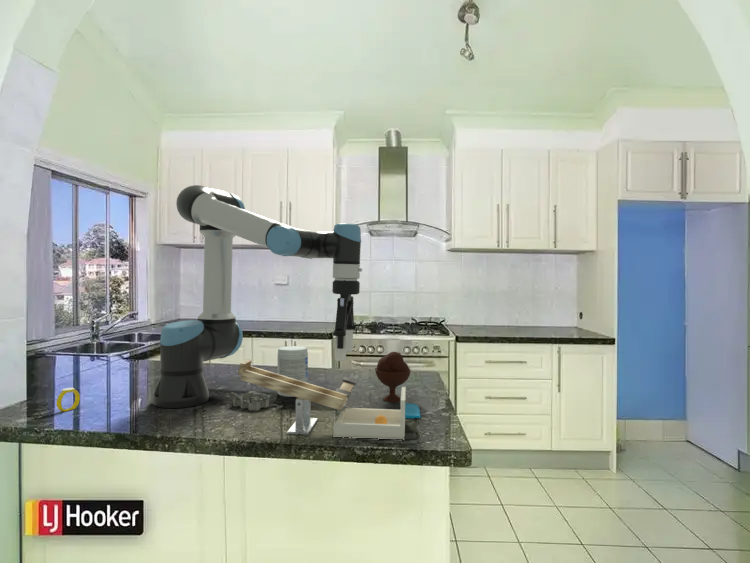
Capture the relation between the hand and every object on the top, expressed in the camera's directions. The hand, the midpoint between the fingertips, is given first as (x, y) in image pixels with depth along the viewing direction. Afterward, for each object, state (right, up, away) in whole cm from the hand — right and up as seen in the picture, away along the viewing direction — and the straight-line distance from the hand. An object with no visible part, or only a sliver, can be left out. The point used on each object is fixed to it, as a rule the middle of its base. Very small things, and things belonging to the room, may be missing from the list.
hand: (344, 356), depth 127 cm
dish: (+8, -16, -15) cm, 23 cm away
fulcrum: (-9, -16, -13) cm, 22 cm away
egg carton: (-27, -16, +5) cm, 32 cm away
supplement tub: (-18, -15, +19) cm, 30 cm away
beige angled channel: (-11, -7, -3) cm, 13 cm away
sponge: (+19, -16, +1) cm, 25 cm away
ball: (+10, -14, -15) cm, 23 cm away
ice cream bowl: (+14, -16, +13) cm, 25 cm away
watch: (-76, -15, -2) cm, 77 cm away
